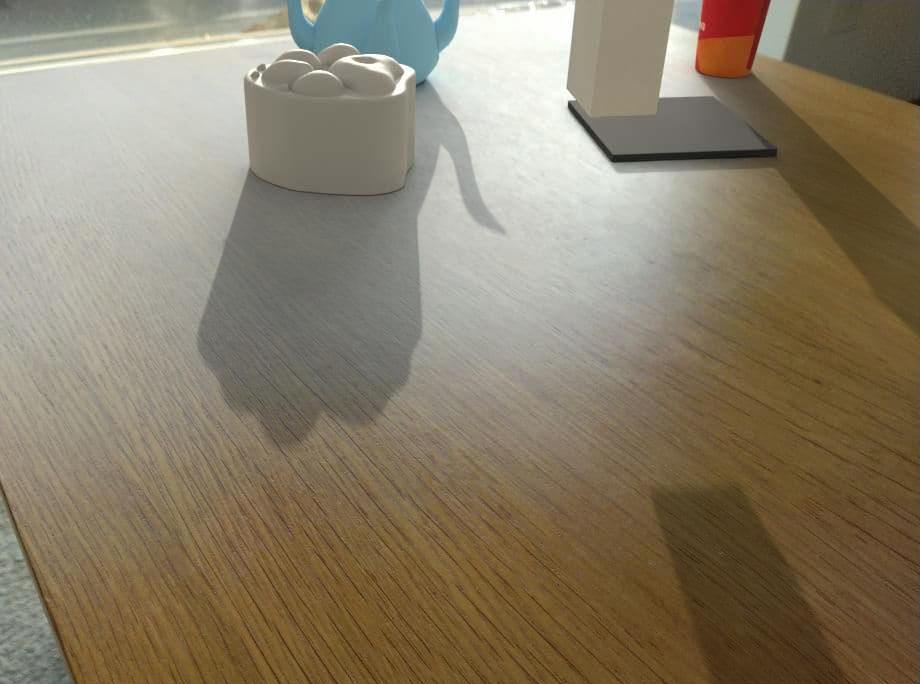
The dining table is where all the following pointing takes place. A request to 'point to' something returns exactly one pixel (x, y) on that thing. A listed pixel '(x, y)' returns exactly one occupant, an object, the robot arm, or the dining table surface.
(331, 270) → the dining table surface
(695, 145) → the mat
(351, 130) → the lumpy-topped squat cylinder
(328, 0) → the teapot
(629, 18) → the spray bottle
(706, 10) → the paper cup
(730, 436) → the dining table surface
